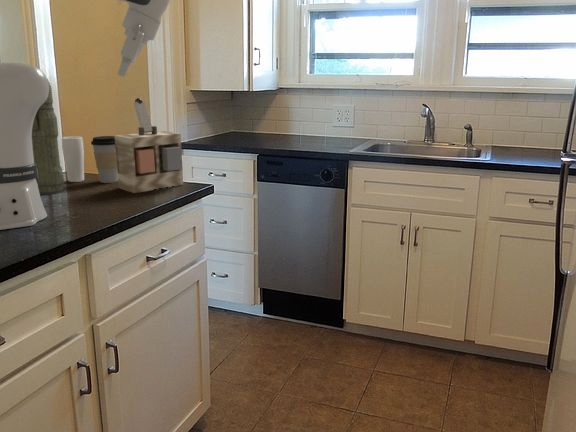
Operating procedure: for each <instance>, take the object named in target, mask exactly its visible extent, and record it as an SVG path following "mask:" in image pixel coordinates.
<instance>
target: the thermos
mask: <svg viewBox="0 0 576 432" xmlns="http://www.w3.org/2000/svg"><path fill="white" fill-rule="evenodd" d="M47 80H48V83H49V94H48V97H47V99H46V101H45V102H44V103H43V104H42V105H41V106H40V108H39V109H38V111H37V113H36V115H35V118H34V122H33V126H32V146H33V157H34V163H36V167H37V171H38V189H39V193H40V195H52V194H58V193H63V192H64V191H65V188H64V180H65V179H64V172H63V168H62V165H61V160H60V150H59V144H58V142H59V141H58V137H59V127H58V119H57V118H58V117H57V116H56V113H55V110H54V109H55V108H54V107H53V104H54V100H53V91H52V86H51V83H50V81H49V79H48V78H47Z"/></svg>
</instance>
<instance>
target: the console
mask: <svg viewBox="0 0 576 432" xmlns="http://www.w3.org/2000/svg"><path fill="white" fill-rule="evenodd" d="M151 126H152V130H153V131H152V132H151V133H144V128H143V127H138V129H137V130H138V132H137V133H128V134H127V133H126V134H116V135H114V136H115V148H116V160H117V172H118V181H117V182H118V183H117V184H118V189H121V190H123V191H126V192H130V193H133V194H137V193H143V192H149V191H155V190H154V189H156V190H160V189H159V188H162V189H167V188H166V187H168V188H173V187H172V186H174V187H178V186H179V187H180V186H183V185H184V175H183V174H184V171H183V169H184V168H183V153H182V152H183V151H182V134H181V133H180V132H174V131H173V132H172V131H167V130H161V131H159V130H158V128H157V127H158V126H154V125H151ZM167 147H181V167H182V169H179V170H172V171H166V170H163V161H162V160H160V154H162V148H167ZM140 149H154V162H155V172H149V173H142V174H140V173H137V172H136V165H135V159H134V156H135V151H134V150H140Z"/></svg>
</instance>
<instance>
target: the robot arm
mask: <svg viewBox="0 0 576 432" xmlns="http://www.w3.org/2000/svg"><path fill="white" fill-rule="evenodd" d="M118 1H119V2H125V3H127V4H128V8H127V11H126V13H125V16H124V19H123V20H122V23H121V26H122V27H123V28H124V33H123V34H124V35H125V36H126V38H125V41H124V43H123V45H122V47H121V51H120V55H121V59H122V60H121V62H120V66H119V69H118V72H117V74H118V76H121V77H122V78H124V77H126V74H127V71H128V69H129V67H130V66H131V64H134V63H135V62H136V61H137V59H138V57H139V55H140V54H141V51H142V50H143V48H144V46H145V45H147V44H148V42H149V41H154V40H155V38H156V35H157V33H158V30H159V28H160V26H161V21H162V16H163V14H164V12H165V11H166V10H167V7H168V5H169V3H170V0H118ZM47 79H48V78H47V76H46V74H45V73H44V72H43V70H41V69H40V68H38V67H36V66H33V65H31V64H30V65H29V64H25V63H21V62H0V231H1V230H7V229H16V228H23V227H31V226H35V225H36V224H37V223H38V222H40V221H42V220H44V219H45V218H47V217H48V213H47V211H46V209H45V207H44V202H43V201H42V200H43V199H42V197H41V194H40V193H39V189H38V171H37V167H36V163H34V157H33V146H32V126H33V122H34V118H35V115H36V113H37V111H38V109H39V108H40V106H41V105H42V104H43V103H44V102H45V101H46V99H47V97H48V94H49V83H50V82H49V83H48V81H49V79H48V80H47Z"/></svg>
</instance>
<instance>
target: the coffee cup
mask: <svg viewBox="0 0 576 432" xmlns="http://www.w3.org/2000/svg"><path fill="white" fill-rule="evenodd" d="M90 144H91V145H92V147H93V156H94V161H95V166H96V170H97V173H98V178H99V182H100V183H102V184H103V183H104V184H111V183H116V182H118V172H117V160H116V148H115V135H103V136H94V137H92V140H91V142H90Z"/></svg>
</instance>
